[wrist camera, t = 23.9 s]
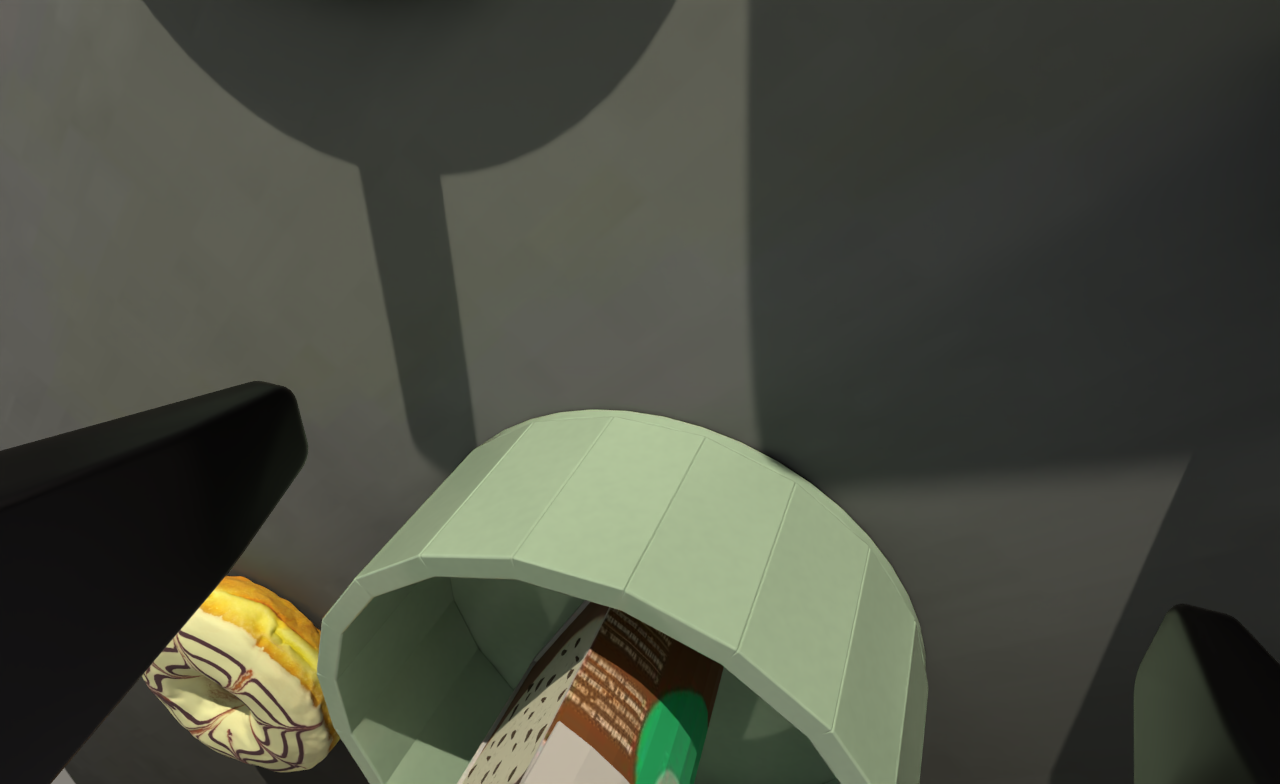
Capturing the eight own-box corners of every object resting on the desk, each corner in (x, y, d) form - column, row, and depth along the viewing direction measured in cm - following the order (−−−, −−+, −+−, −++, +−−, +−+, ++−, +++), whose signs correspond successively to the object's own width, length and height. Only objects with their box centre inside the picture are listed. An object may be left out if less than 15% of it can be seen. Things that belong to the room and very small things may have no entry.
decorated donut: (153, 610, 41) (85, 668, 38) (216, 518, 34) (140, 579, 31) (313, 745, 42) (259, 811, 39) (402, 680, 35) (346, 755, 32)
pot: (986, 485, 20) (980, 692, 15) (876, 852, 30) (848, 1057, 24) (406, 359, 25) (255, 483, 20) (466, 706, 35) (372, 851, 29)
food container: (649, 769, 31) (528, 1074, 23) (518, 675, 31) (352, 949, 23) (852, 617, 24) (774, 994, 16) (678, 493, 23) (512, 808, 16)
